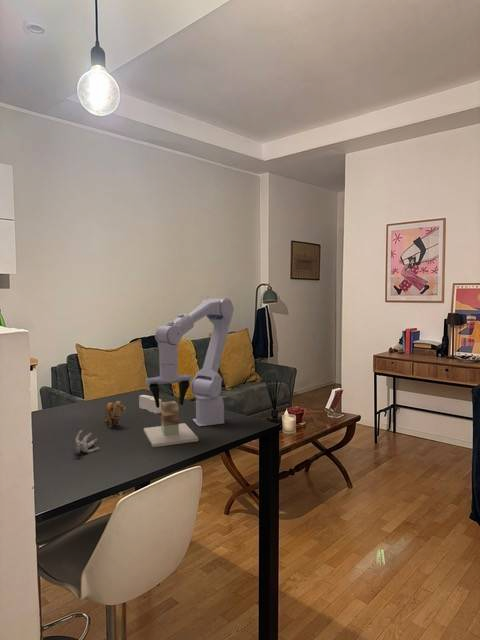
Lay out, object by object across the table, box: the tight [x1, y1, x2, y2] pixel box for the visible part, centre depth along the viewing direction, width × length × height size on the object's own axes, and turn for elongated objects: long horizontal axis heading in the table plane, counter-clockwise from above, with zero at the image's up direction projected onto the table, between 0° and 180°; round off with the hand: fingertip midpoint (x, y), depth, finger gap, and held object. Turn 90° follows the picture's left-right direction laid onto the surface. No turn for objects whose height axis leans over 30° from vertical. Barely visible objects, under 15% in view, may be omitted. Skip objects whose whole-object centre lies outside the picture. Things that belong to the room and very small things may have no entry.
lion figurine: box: [104, 400, 127, 428], centre depth 159 cm, size 15×5×9 cm, turn 36°
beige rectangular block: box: [138, 394, 163, 415], centre depth 175 cm, size 15×11×6 cm
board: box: [143, 421, 199, 448], centre depth 146 cm, size 14×16×4 cm
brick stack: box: [160, 400, 180, 426], centre depth 145 cm, size 5×5×6 cm
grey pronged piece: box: [73, 429, 101, 454], centre depth 134 cm, size 8×5×12 cm
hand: (169, 405), depth 145 cm, fingers open, 7 cm apart
